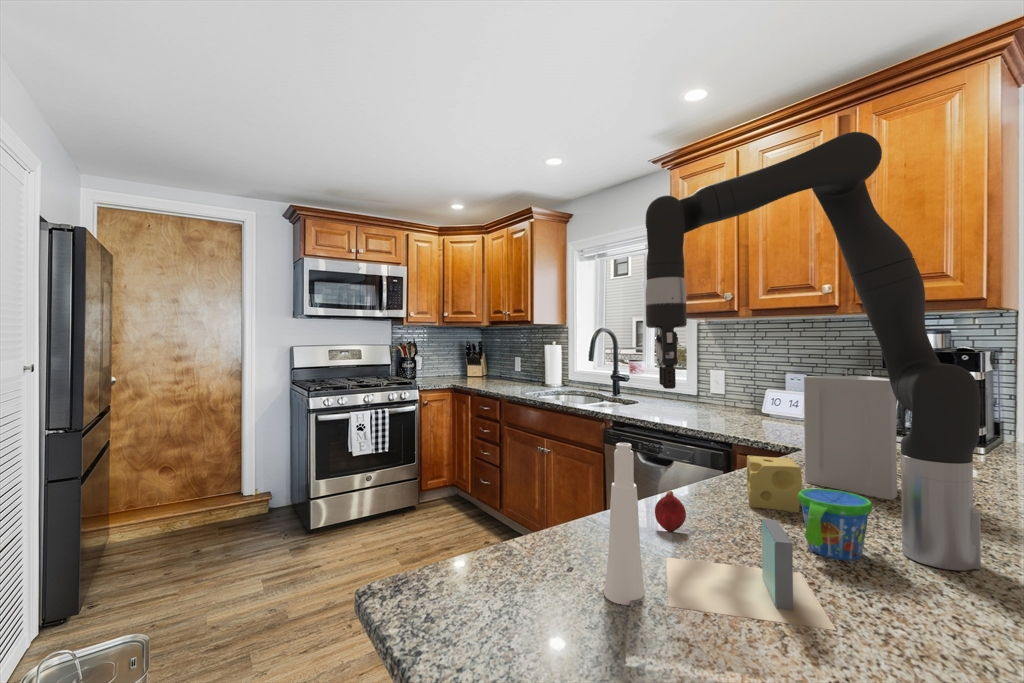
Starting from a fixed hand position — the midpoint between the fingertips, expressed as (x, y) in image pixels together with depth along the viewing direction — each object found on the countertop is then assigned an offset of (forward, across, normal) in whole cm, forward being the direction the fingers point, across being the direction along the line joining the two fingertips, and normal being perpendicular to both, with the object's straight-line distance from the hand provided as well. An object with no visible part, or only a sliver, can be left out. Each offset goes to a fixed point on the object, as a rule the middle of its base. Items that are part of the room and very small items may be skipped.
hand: (667, 386), depth 94 cm
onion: (+29, +1, 0) cm, 29 cm away
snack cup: (+29, -3, -27) cm, 40 cm away
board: (+28, -21, -8) cm, 36 cm away
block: (+28, -22, -13) cm, 37 cm away
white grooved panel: (+29, +45, -50) cm, 74 cm away
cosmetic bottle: (+29, -25, +8) cm, 39 cm away
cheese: (+29, +25, -25) cm, 46 cm away
